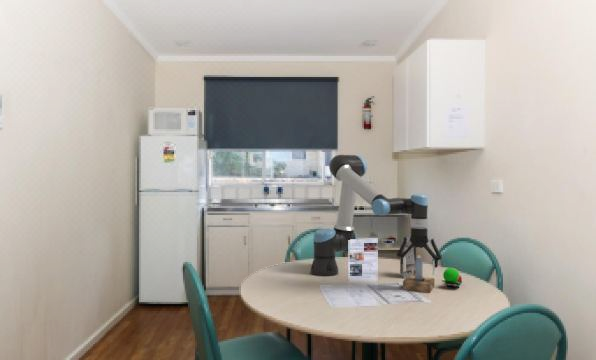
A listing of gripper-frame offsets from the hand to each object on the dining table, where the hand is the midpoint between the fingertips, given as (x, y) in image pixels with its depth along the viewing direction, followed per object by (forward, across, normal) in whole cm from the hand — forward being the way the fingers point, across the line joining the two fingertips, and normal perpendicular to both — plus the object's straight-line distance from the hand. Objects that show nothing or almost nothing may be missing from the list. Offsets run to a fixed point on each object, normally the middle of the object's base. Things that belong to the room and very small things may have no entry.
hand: (419, 272), depth 198 cm
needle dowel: (+7, 0, 0) cm, 7 cm away
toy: (+8, +14, +12) cm, 19 cm away
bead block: (+7, 0, 0) cm, 7 cm away
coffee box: (+7, -10, +21) cm, 24 cm away
